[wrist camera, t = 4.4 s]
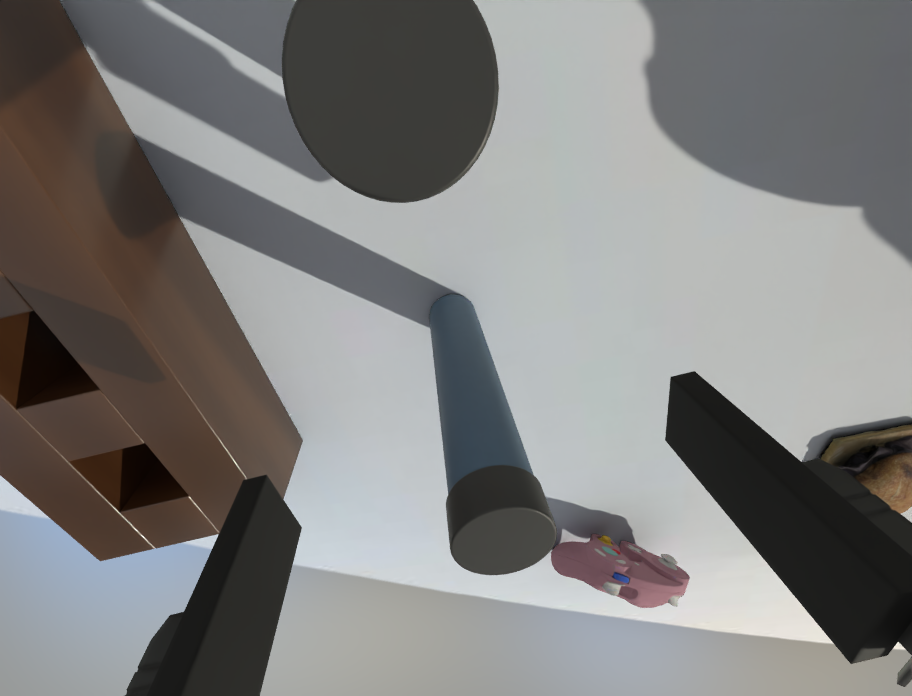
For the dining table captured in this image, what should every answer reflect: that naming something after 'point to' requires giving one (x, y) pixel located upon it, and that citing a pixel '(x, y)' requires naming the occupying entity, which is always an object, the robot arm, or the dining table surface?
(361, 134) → the amber tube
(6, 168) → the rack
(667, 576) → the video game controller
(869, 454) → the bread roll
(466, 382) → the smoke-blue tube
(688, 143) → the dining table surface
